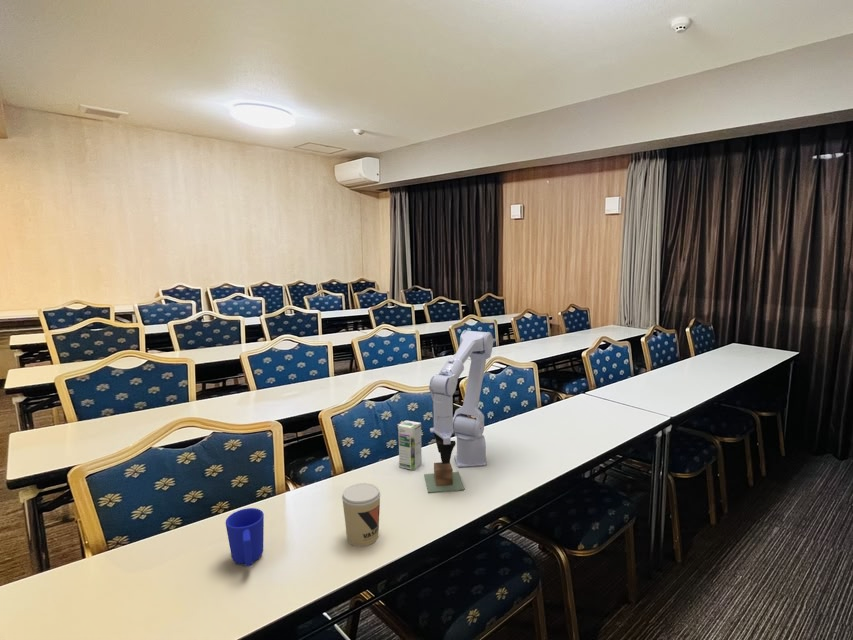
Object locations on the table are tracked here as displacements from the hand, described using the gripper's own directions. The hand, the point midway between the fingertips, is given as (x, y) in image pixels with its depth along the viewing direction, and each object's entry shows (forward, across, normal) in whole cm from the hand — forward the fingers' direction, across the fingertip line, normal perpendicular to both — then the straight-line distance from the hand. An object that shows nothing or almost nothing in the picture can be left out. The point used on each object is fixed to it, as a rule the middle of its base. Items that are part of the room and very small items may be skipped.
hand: (443, 457), depth 141 cm
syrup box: (+8, -13, -9) cm, 18 cm away
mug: (+8, +30, -50) cm, 59 cm away
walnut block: (+8, 0, 0) cm, 8 cm away
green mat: (+8, 0, 0) cm, 8 cm away
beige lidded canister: (+8, +24, -24) cm, 35 cm away
